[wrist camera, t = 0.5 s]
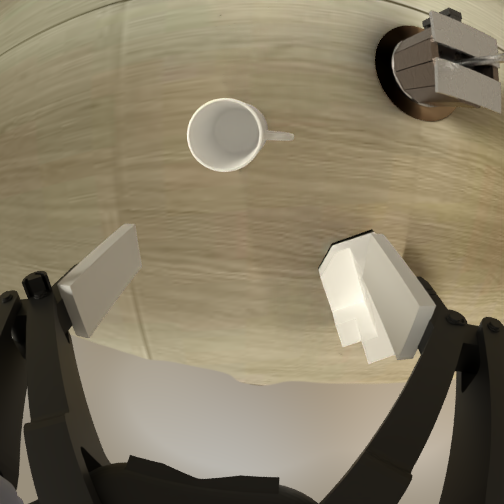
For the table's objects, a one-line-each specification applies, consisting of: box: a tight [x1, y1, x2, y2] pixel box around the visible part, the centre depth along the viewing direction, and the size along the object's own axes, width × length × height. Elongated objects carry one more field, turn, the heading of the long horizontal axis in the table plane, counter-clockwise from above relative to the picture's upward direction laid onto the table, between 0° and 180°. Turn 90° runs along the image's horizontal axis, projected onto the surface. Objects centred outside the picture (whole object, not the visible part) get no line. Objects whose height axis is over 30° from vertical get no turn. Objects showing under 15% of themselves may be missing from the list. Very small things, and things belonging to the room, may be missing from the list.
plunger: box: [438, 44, 504, 71], centre depth 14 cm, size 7×7×21 cm
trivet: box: [375, 26, 456, 121], centre depth 32 cm, size 16×16×1 cm
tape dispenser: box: [318, 229, 395, 364], centre depth 43 cm, size 16×10×13 cm, turn 23°
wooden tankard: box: [390, 8, 501, 114], centre depth 25 cm, size 14×12×13 cm
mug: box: [187, 98, 294, 172], centre depth 34 cm, size 12×8×12 cm
